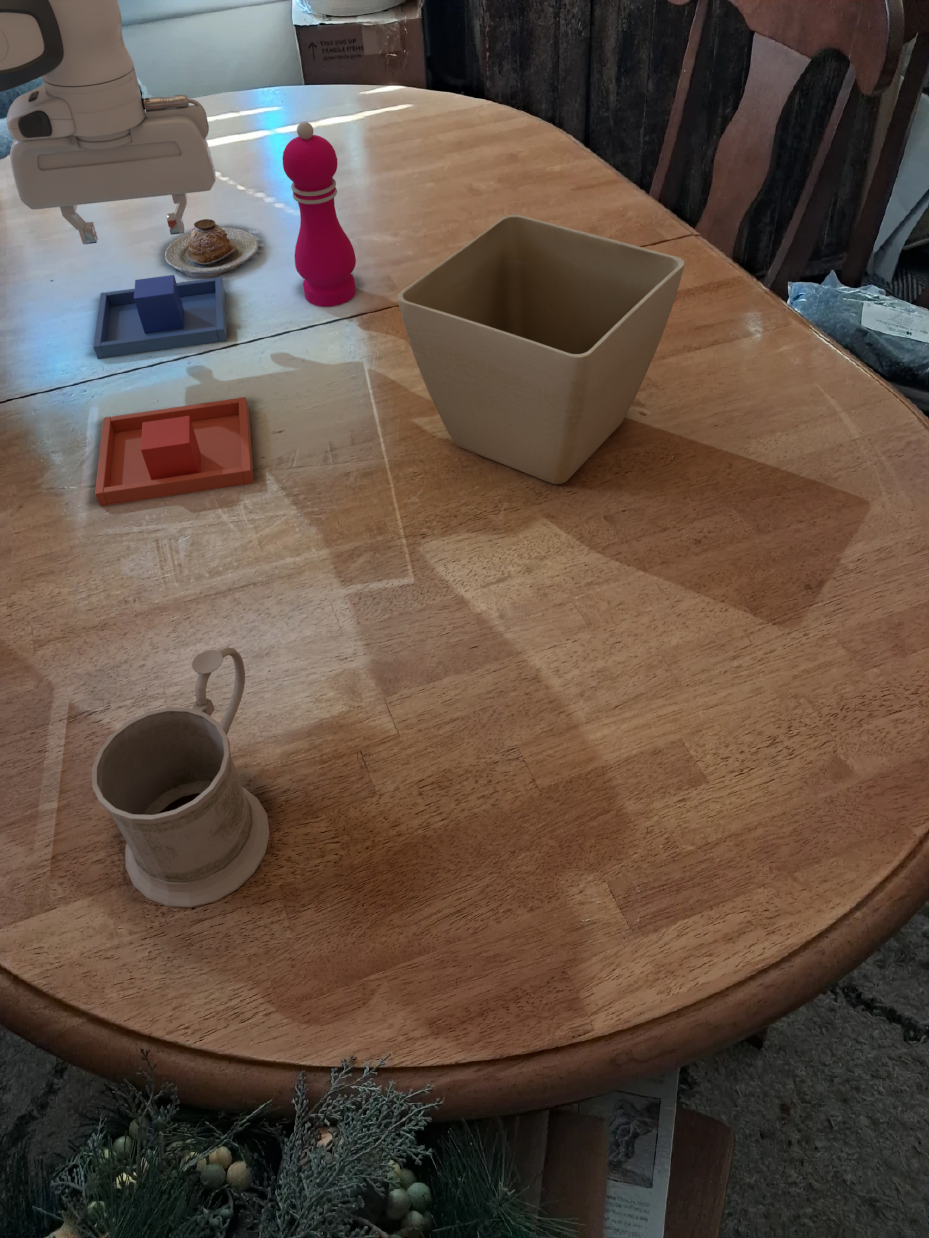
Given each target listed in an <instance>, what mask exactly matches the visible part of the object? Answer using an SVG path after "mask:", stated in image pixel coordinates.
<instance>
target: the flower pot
mask: <svg viewBox="0 0 929 1238" xmlns="http://www.w3.org/2000/svg"><path fill="white" fill-rule="evenodd" d="M685 265H686V262H685V261H684V259H683V258H682V257H679V256H677V255H676V256H675V255H672V254H668V253H664V252H661V251H660V252H659V251H656V250H653V249H650V248H647V247H641V246H639V245H635V244H632V243H627V242H624V241H620V240H616V239H613V238H609V237H605V236H601V235H598V234H595V233H590V232H586V231H581V230H580V229H579V230H578V229H575V228H572V227H568V226H564V225H561V224H556V223H552V222H548V221H544V220H540V219H537V218H533V217H530V216H525V215H522V214H516V213H515V214H514V213H513V214H512V213H511V214H506V215H504V216H503V217H500V219H498V220H497V221H496V222H495V223H493V224H492V225H490V226H489V227H488V228H487V229H485V230H483V231H482V232H481V233H480V234H478V235H477V236H476V237H474V238H473V239H471V240H470V241H468V242H467V243H466V244H465V245H462V247H460V248H459V249H457V250H456V251H455V252H453V253H452V254H451V255H449V256H448V257H446V258H445V259H444V260H442V261H441V262H439V263H438V264H436V266H434V267H433V268H431V269H430V270H428V271H427V272H426V273H424V274H422V275H421V276H420V277H419V278H417V279H416V280H414V282H412V283H410V284H409V285H408V286H406V287H404V288H403V289H402V290H400V292H399V293H398V294H397V295H396V297H397V302H398V306H399V310H400V314H401V318H402V322H403V325H404V328H405V331H406V334H407V338H408V341H409V344H410V347H411V350H412V353H413V356H414V360H415V362H416V365H417V367H418V370H419V372H420V375H421V377H422V380H423V382H424V385H425V387H426V389H427V392H428V394H429V396H430V399H431V401H432V403H433V405H434V407H435V410H436V411H437V413H438V415H439V417H440V419H441V421H442V423H443V425H444V427H445V429H446V431H447V433H448V434H449V436H450V438H451V439H452V441H453V442H454V444H455V445H456V446H457V447H459V448H461V449H464V450H466V451H469V452H471V453H474V454H477V455H478V456H481V457H484V458H486V459H488V460H492V461H494V462H496V463H499V464H501V465H504V466H506V467H509V468H512V469H514V470H516V471H519V472H522V473H524V474H526V475H530V476H532V477H535V478H537V479H539V480H542V481H545V482H547V483H550V484H553V485H562V484H564V483H566V482H568V481H569V479H570V478H571V477H572V476H574V475H575V474H576V472H577V471H578V470H579V469H580V468H581V467H582V466H583V465H584V464H585V463H586V462H587V460H589V458H590V457H591V456H592V455H593V454H594V453H595V452H596V451H597V450H598V449H599V448H600V447H601V446H602V444H604V443H605V442H606V440H608V438H609V437H611V435H612V434H613V433H614V432H615V431H616V430H617V429H618V428H619V427H620V426H621V425H622V424H623V421H624V420H625V418H626V416H627V414H628V413H629V410H630V409H631V407H632V405H633V403H634V401H635V399H636V397H637V394H638V392H639V390H640V388H641V386H642V384H643V382H644V379H645V378H646V375H647V373H648V371H649V368H650V366H651V364H652V361H653V359H654V357H655V354H656V352H657V349H658V347H659V344H660V343H661V339H662V337H663V334H664V331H665V329H666V326H667V324H668V321H669V318H670V315H671V312H672V309H673V306H674V303H675V301H676V297H677V293H678V290H679V287H680V284H681V280H682V277H683V272H684V269H685Z"/></svg>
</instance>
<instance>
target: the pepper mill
mask: <svg viewBox="0 0 929 1238" xmlns="http://www.w3.org/2000/svg"><path fill="white" fill-rule="evenodd" d="M296 133H297V136H295V138H292V139H291V140H289V142H288V143H287V144H286V146H285V148H284V149H283V152H282V168H283V171H284V174H285V175H286V176H287V178H288V179H289V180H290V181H291V182H292V183H291V186H290V187H291V191H292V198H293V200H294V201H295V202H297V205H298V208H299V216H300V217H299V218H300V221H299V223H300V225H299V231H298V234H297V239H296V243H295V247H294V266H295V270H296V272H297V273H298V274H299V276H300V277H301V278H302V279H304V280H303V281H302V289H303V294H304V299H305V300H306V301H307V302H308V303H309V304H311V305H312V306H315V307H321V308H332V307H333V308H334V307H336V306H341V305H343V304H346V303H348V302H350V301H352V300H353V299H354V297H355V296H356V293H357V288H356V281H355V277H354V275H353V274H352V273H353V271H354V270H355V267H356V265H357V258H356V252H355V249H354V247H353V244H352V242H351V240H350V239H349V236H348V235H347V234H346V233H345V231H344V229H343V227H342V225H341V223H340V221H339V218H338V216H337V215H338V214H337V211H336V205H335V197H336V196H337V194H338V189H337V188H336V185H337V182H336V180H335V178H334V176H335V175H336V173H337V170H338V156H337V153H336V150H335V148H334V146H333V145H332V143H330V141H328V140H327V139H326V138H324V137H322V136H320V135H317V134H314V127H313V125H312V124H311V123H310V122H308V121H301V122H299V124H298V125H297V127H296Z"/></svg>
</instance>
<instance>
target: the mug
mask: <svg viewBox="0 0 929 1238" xmlns="http://www.w3.org/2000/svg"><path fill="white" fill-rule="evenodd" d="M228 656H230V657H231V658H232V661H233V666H234V673H235V674H234V686H233V690H232V694H231V698H230V700H229V702H228V706H227V708H226V710H225V713H224V716H223V718H222V719H221V722H218V721H217V720H216V719H215V718H213V717H212V714H214V711H215V709H216V708H215V706H214V703H213V701H212V699H209V698H207V687H208V682H209V679H210V677H211V675H212V673H213V672H215V671H217V670H218V669H219V668H220V667H221V666H222V664H223V661H224V658H226V657H228ZM191 667H192V670H193V671H194V673H196V674H198V676H197V679H196V683H195V699H196V700H195V701H194V703H193V704H192V706H193V707H191V708H190V707H170V706H169V707H163V708H159V709H154V710H150V711H147V712H145V713H143V714H140V715H138V716H135V717H134V718H132V719H130V720H128V721H126V722H125V723H124V724H123V725H121V726H120V727H118V728H117V729H116V730H115V731H113V732H112V733H111V734H110V735H109V736H108V738H107V739H106V740H105V742H104V743H103V744H102V745H101V747H100V748H99V749H98V751H97V754H96V757H95V759H94V762H93V764H92V767H91V787H92V789H93V792H94V794H95V796H96V798H97V800H98V802H99V804H100V806H101V807H102V808H104V809H105V810H106V811H107V812H108V813H110V815H111V817H112V819H113V821H114V823H115V824H116V826H117V828H118V829H119V831H120V833H121V836H122V837H123V839H124V841H125V842H126V845H125V848H124V849H125V853H124V854H125V855H124V857H125V870H126V872H127V874H128V876H129V879H130V881H131V883H132V885H133V887H134V888H136V890H137V891H138V892H140V893H141V894H142V896H144V897H145V898H146V899H147V900H149V901H152V902H155V903H157V904H159V905H162V906H165V907H168V908H185V909H186V908H189V909H191V908H195V907H199V906H203V905H208V904H211V903H216V902H217V901H219V900H221V899H223V898H225V897H226V896H228V895H230V894H231V893H233V892H235V891H238V889H239V888H241V886H242V885H243V884H244V883H246V882H247V881H248V880H249V879H250V878H251V877H252V876H253V875H254V874H255V872H256V871H257V869H258V867H260V866H259V865H260V864H261V862H262V861H263V859H264V857H265V855H266V853H267V850H268V849H267V848H268V843H269V840H270V836H271V833H270V826H269V818H268V813H267V812H266V810H265V809H264V806H263V805H262V803H261V802H260V800H259V798H258V797H257V796H255V795H253V793H251V792H250V791H248V789H246V788H245V787H243V786H242V783H241V780H240V778H239V777H240V776H239V775H238V774H239V773H238V772H237V769H236V767H235V764H234V760H233V758H232V754H231V746H230V745H231V744H230V739H229V737H228V734H229V731H230V729H231V726H232V724H233V721H234V719H235V717H236V714H237V712H238V710H239V706H240V704H241V701H242V698H243V695H244V690H245V683H246V670H245V664H244V659H243V658H242V656H241V654H240V652H238V651H237V650H236V648H235V647H228V646H227V647H224V648H221V649H218V650H214V649H211V650H209V649H208V650H205V651H202V652H200V653H199V654H197V655H196V656H195V657H194V658H193V660H192V664H191ZM196 794H197V796H196V797H195V798H194V799H192V800H191V801H189V802H187V803H185V804H183V805H180V806H179V807H177V808H175V809H171V810H169V811H164V809H166V808H167V807H168V806H169V805H170V804H173V803H174V802H176V801H178V800H179V799H181V798H183V797H188V796H192V795H196ZM198 794H199V795H198ZM162 811H164V812H162Z"/></svg>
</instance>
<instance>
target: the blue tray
mask: <svg viewBox="0 0 929 1238" xmlns="http://www.w3.org/2000/svg"><path fill="white" fill-rule="evenodd" d="M176 283H177V287H178V291H179V294H180V298H181V301H182V305H183V309H184V322H183V328H182V329H175V330H168V331H161V332H153V333H146V334H145V333H144V330H143V327H142V323H141V320H140V317H139V314H138V311H137V308H136V304H135V301H134V290H135V288H128V289H127V288H126V289H120V290H112V291H107V292H106V291H105V292H100V295H99V302H98V308H97V315H96V323H95V330H94V331H95V332H94V339H93V346H92V347H93V350H94V353H95V356H96V359H97V360H102V359H109V358H116V357H121V356H122V357H123V356H129V355H136V354H138V355H139V354H144V353H151V352H158V351H166V350H172V349H180V348H186V347H194V346H202V345H208V344H209V345H210V344H216V343H223V342H228V339H227V331H228V325H227V304H226V303H227V301H226V300H227V299H226V298H227V297H226V288H225V285H224V282H223V277H222V276H217V277H209V278H201V279H196V280H188V281H180V282H176Z"/></svg>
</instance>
